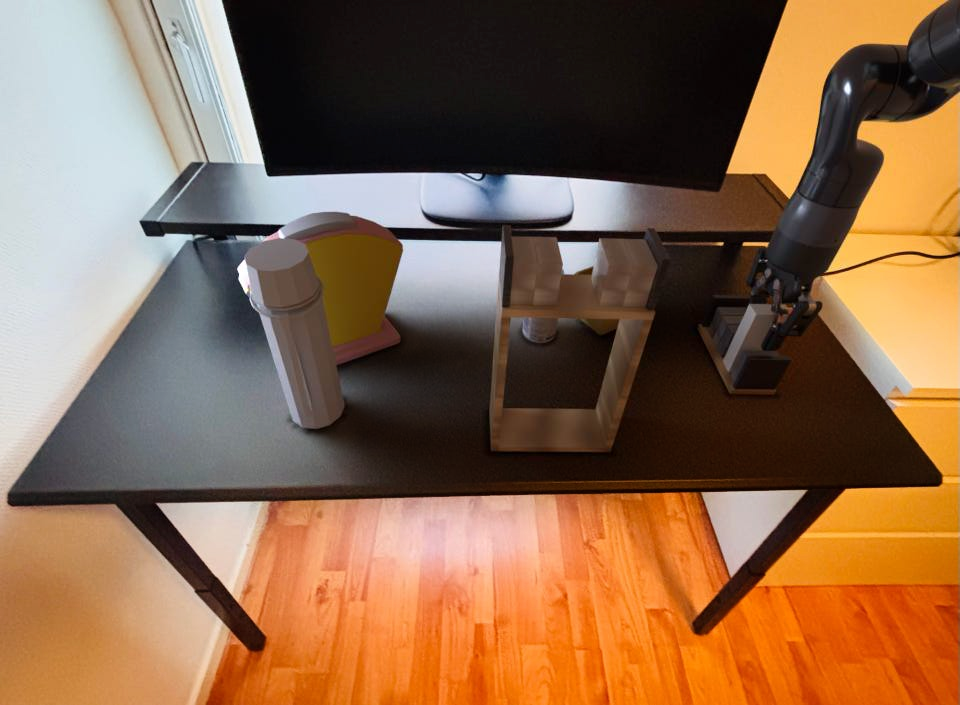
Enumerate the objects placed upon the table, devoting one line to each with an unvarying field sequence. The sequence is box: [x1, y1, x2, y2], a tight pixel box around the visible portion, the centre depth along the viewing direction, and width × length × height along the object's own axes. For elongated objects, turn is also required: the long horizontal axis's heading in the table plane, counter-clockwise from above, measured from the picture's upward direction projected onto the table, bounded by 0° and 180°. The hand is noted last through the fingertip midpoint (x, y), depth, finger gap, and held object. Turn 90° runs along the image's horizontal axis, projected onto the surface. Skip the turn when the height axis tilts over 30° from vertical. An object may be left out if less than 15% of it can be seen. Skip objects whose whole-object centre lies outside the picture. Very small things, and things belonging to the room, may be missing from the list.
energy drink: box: [522, 268, 565, 344], centre depth 83 cm, size 5×5×12 cm
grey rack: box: [697, 294, 793, 396], centre depth 81 cm, size 15×7×7 cm, turn 1°
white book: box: [723, 303, 788, 372], centre depth 77 cm, size 2×5×11 cm, turn 91°
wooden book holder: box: [498, 224, 671, 320], centre depth 54 cm, size 16×7×7 cm, turn 91°
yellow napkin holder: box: [237, 211, 404, 366], centre depth 76 cm, size 22×9×22 cm, turn 122°
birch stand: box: [489, 280, 654, 453], centre depth 64 cm, size 16×7×22 cm, turn 91°
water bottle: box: [243, 238, 345, 430], centre depth 64 cm, size 9×8×25 cm
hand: (758, 333), depth 76 cm, fingers open, 6 cm apart
